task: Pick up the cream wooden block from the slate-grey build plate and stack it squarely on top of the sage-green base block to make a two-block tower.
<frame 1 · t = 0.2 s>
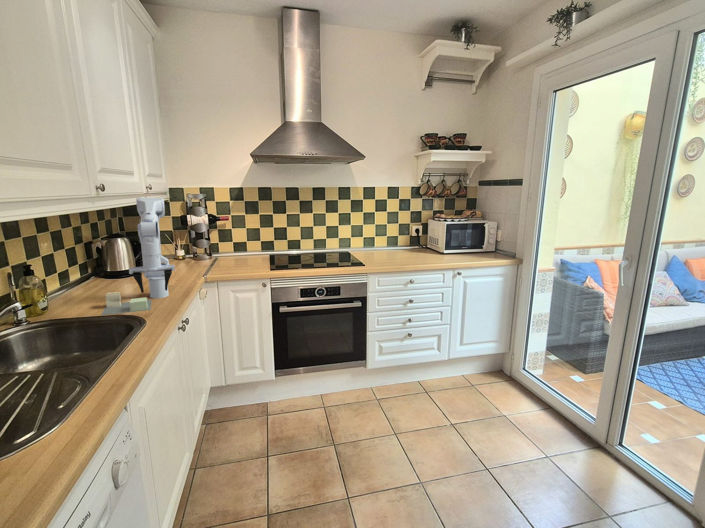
hand: (154, 290, 129), 10 cm above the worktop, tool pointing down, fingers open, 7 cm apart
build plate: (128, 308, 139), on the worktop
base block: (139, 308, 137), point 1 cm above the worktop, touching build plate
cream block: (114, 305, 140), point 1 cm above the worktop, touching build plate
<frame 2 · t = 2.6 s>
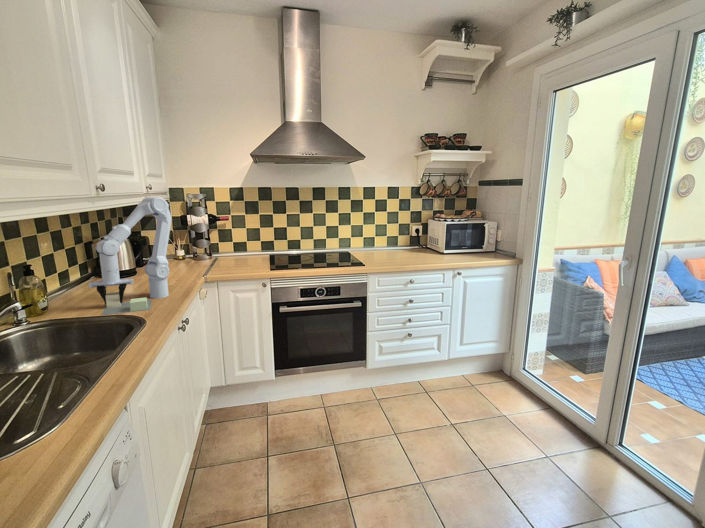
hand: (113, 303, 140), 2 cm above the worktop, tool pointing down, fingers closed on cream block, 4 cm apart
cream block: (114, 305, 140), point 1 cm above the worktop, touching build plate, gripper
everything else where it was.
when the fingers open (6 cm above the worktop, at t = 6.0 s): cream block drops 1 cm, resting on base block.
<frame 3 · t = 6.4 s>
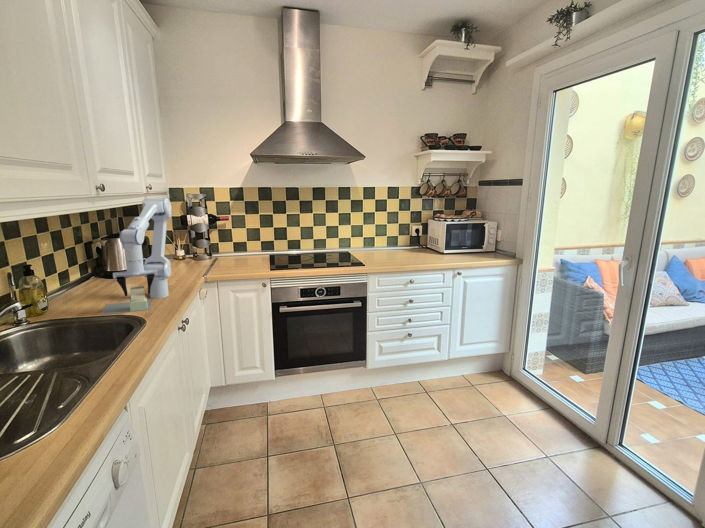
hand: (137, 294, 136), 6 cm above the worktop, tool pointing down, fingers open, 7 cm apart
base block: (139, 308, 137), point 1 cm above the worktop, touching build plate, cream block
cream block: (138, 300, 137), point 4 cm above the worktop, touching base block
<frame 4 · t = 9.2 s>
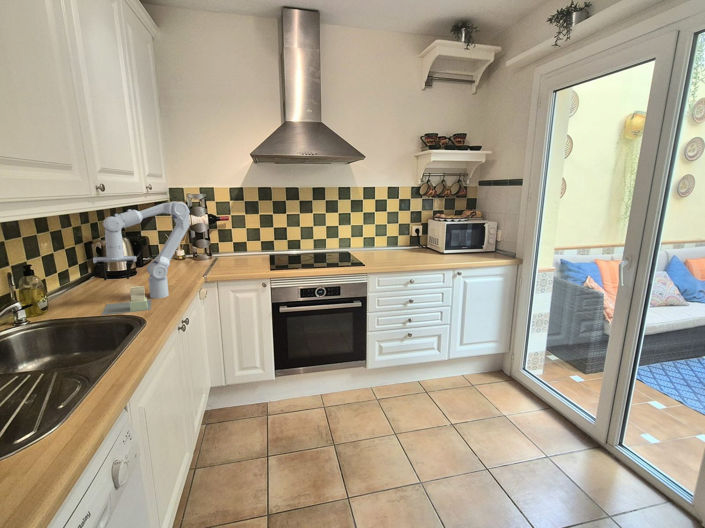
hand: (116, 279, 143), 10 cm above the worktop, tool pointing down, fingers open, 7 cm apart
nothing on the worktop moved.
at the end: cream block 0.0 cm off-centre on the base block, point 3.5 cm above the base block's base; cream block tilted 0°; base block moved 0.0 cm from its start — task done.
